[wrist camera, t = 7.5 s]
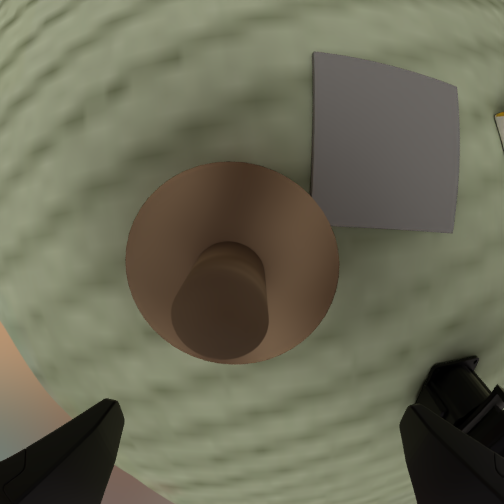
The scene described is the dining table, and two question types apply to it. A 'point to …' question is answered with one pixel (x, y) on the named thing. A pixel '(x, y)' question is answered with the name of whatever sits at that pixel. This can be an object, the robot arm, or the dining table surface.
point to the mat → (383, 146)
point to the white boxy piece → (500, 125)
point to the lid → (232, 262)
